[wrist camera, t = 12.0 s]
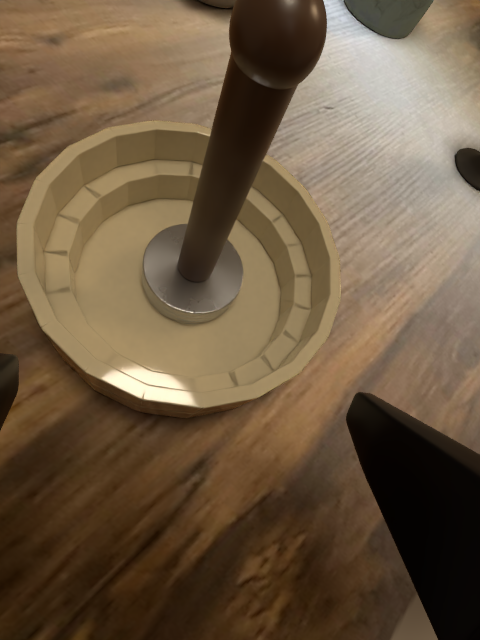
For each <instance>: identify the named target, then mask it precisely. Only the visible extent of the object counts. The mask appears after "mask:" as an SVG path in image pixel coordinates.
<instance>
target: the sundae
mask: <svg viewBox="0 0 480 640" xmlns="http://www.w3.org/2000/svg"><path fill="white" fill-rule="evenodd" d="M456 164H457V167H458V169H459V171H460V173H461V174H462V176H463V177H464V178H465V179H466V180H467V181H468V182H469V183H470V184H471V185H472V186H474V187H476V188H477V189H479V190H480V152H479V151H477V150H475V149H472V148H464V149H461V150H459V151H458V153H457V154H456Z"/></svg>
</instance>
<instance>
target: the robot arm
mask: <svg viewBox="0 0 480 640" xmlns="http://www.w3.org/2000/svg"><path fill="white" fill-rule="evenodd" d="M18 385H19V361H18V357H17V356H16V355H11V354H2V353H0V430H1V428H2V426H3V424H4V421H5V419H6V417H7V415H8V412H9V410H10V408H11V406H12V404H13V401H14V399H15V397H16V395H17V391H18ZM346 422H347V426H348V429H349V432H350V435H351V437H352V440H353V443H354V446H355V449H356V452H357V455H358V458H359V461H360V464H361V467H362V470H363V472H364V474H365V477H366V479H367V481H368V483H369V486H370V488H371V490H372V492H373V495H374V497H375V499H376V501H377V504H378V506H379V508H380V510H381V513H382V515H383V517H384V519H385V522H386V524H387V526H388V528H389V531H390V533H391V535H392V537H393V539H394V542H395V544H396V546H397V548H398V551H399V553H400V555H401V557H402V560H403V562H404V564H405V566H406V569H407V571H408V573H409V575H410V578H411V580H412V582H413V584H414V587H415V589H416V591H417V593H418V595H419V598H420V600H421V602H422V604H423V607H424V609H425V611H426V613H427V616H428V618H429V620H430V622H431V625H432V627H433V629H434V631H435V634H436V635H437V638H438V640H480V454H478V453H476V452H474V451H473V450H471V449H469V448H467V447H465V446H464V445H462V444H460V443H458V442H456V441H455V440H453V439H451V438H449V437H448V436H446V435H444V434H442V433H440V432H439V431H437V430H435V429H433V428H432V427H430V426H428V425H426V424H424V423H423V422H421V421H419V420H417V419H416V418H414V417H412V416H410V415H408V414H407V413H405V412H403V411H401V410H400V409H398V408H396V407H394V406H392V405H391V404H389V403H387V402H385V401H384V400H382V399H380V398H378V397H376V396H375V395H373V394H370V393H363V392H359V393H357V394H356V395H355V396H354V398H353V401H352V403H351V405H350V408H349V410H348V413H347V416H346Z"/></svg>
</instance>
